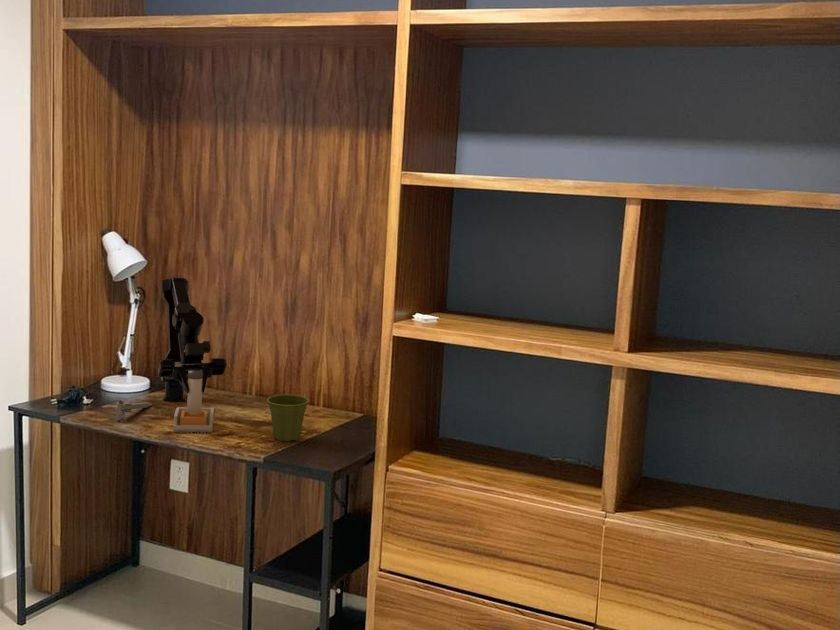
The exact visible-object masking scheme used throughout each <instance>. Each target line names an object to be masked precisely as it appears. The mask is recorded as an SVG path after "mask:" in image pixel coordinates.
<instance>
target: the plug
mask: <svg viewBox="0 0 840 630" xmlns="http://www.w3.org/2000/svg"><path fill="white" fill-rule="evenodd" d="M202 376H203V371H202V370H198V369H193V370H188V381H187V382H188V386H189V393H187V399H186V401H187V402H186V407H187V414H189V415H200V414H201V410H202V408H203V407H202V406H203V405H202V404H203V403H202V401H203V393H202Z"/></svg>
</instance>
